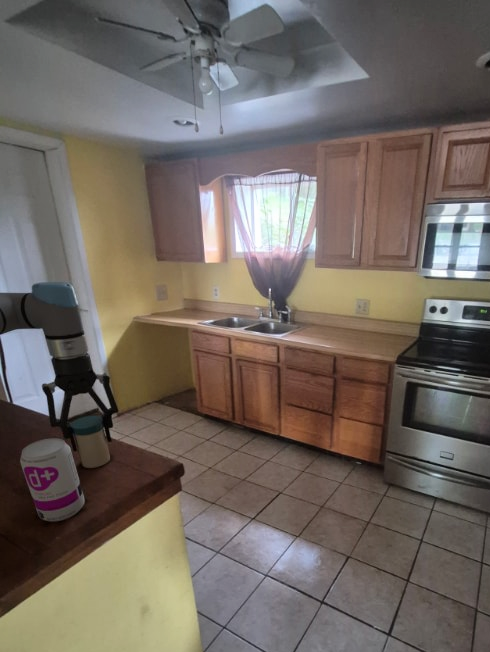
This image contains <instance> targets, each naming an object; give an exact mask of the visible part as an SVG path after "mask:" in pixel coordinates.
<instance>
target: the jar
mask: <svg viewBox="0 0 490 652" xmlns="http://www.w3.org/2000/svg"><path fill="white" fill-rule="evenodd" d="M73 437H74V440H75V444H76V448H77V451H78V454H79V458H80V462H81V465H82V467H84V468H86V469H94V468H98V467H102V466H104V465H106V464H107V463H108V462H109V461H110V460H111V454H110V449H109V445H108V440H107V438H106V434H105V429H104V428H103V429H101V430H100V431H98V432H95V433H92V434H88V435H75V434H73Z"/></svg>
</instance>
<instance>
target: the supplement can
mask: <svg viewBox="0 0 490 652" xmlns="http://www.w3.org/2000/svg"><path fill="white" fill-rule="evenodd" d="M72 452H73V451H72V448H71V447H70V446H69V444H67V443H66V441H65V439H62V438H58V437H57V438H56V437H55V438H54V437H52V438H45V439H40V440H37V441H34V442H32V443H30V444H28V445H27V446H25V447H24V448H23V449H22V450H21V455H20V459H19V463H20V466H21V469H22V472H23V474H24V478H25V480H26V483H27V487H28V489H29V492H30V495H31V498H32V500H33V504H34V507H35V509H36V512H37V515H38V517H39V518H40V520H43V521H47V522H60V521H64V520H67V519H69V518H71V517H73V516H75V515H76V514H77V513H78V512H79V511H80V510H81V509H82V508H83V507H84V505H85V502H86V501H85V495H84V493H83V489H82V485H81V481H80V477H79V475H78V471H77V470H78V469H77V466H76V463H75V460H74V457H73V453H72Z"/></svg>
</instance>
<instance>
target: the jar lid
mask: <svg viewBox="0 0 490 652" xmlns="http://www.w3.org/2000/svg"><path fill="white" fill-rule="evenodd" d="M70 426H71V429H72V433H73V435H74V434H75V435H88V434H92V433H95V432H98V431H100V430H101V429H103V428H104V421H103V418H102V416H99V415H88V416H83V417H79V418H77V419H75V420H73V421H72V422H71V423H70Z"/></svg>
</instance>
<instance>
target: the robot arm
mask: <svg viewBox="0 0 490 652" xmlns="http://www.w3.org/2000/svg"><path fill="white" fill-rule="evenodd" d="M40 329H42V333H43V334H44V339H45V343H46V347H47V350H48V353H49V356H50V357H51V359H50V361H51V365H52V368H53V373H54V376H55V377H54V381H51V382H49V383H47V382H46V383H42V384H41V389H42V392H43V393H44V395H45V397H46V403H47V410H48V418H49V422H50V427H51V428H56V427H58V428H60V429H61V433H62V436H63V439H64V440H68V439H69V441H70V443H71V447H72V450H73V451H72V452H77V451H78V447H77V444H76V440H75V436H74V434H73V433H72V429H71V426H70V424H71V423H70V422H68V421H69V415H70V409H71V404H72V400H73V397H74V396H78V395H86V394H88V395H89V396H90V397H91V399H92V400H93V401H94V402H95V404H96V406H97V407H98V408H99V409H100V410H101V412H102V413H103V414H101V416H100V417H102V418H103V421H104V432H105V436H106V441H107V443H112V442H113V440H112V437H111V432H110V429H113V428H114V422H113V418H112V417H113V415H114V414H118V413H119V409H118V405H117V403H116V400H115V396H114V394H113V391H112V388H111V385H110V383H111V382H110V381H111V378H110V377H111V376H109V374H108V373H106V372H104V373H101V374H99V373H98V374H97V373H96V372H95V371H94V369H93V368H94V367H93V364H92V360H91V354H89V353H88V352H89V346H88V342H87V337H86V334H85V330H84V325H83V320H82V315H81V311H80V302H79V301H78V298H77V295H76V291H75V288H74V286H73V285H72V284H71V283H69V282H67V281H45V282H36V283H33V284H32V286H31V292H0V336H1V335H4V334H7V333H11V332H12V331H16V330H17V331H18V330H40ZM97 380H98V382H99V384H102V387H103V389H104V392H105V395H106V398H107V401H108V403H109V406H110V407H109V408H108V407H107V406H106V404H105V403H104V401H103V400H102V399H101V398H100V396H99V395H98V393H97V392H96V391H95V390H94V388H93V387H94V386H95V384H96V382H97ZM56 388H59V389H60V390H62V391H63V392H64V393H63V400H62V405H61V411H60V412H61V413H60V416H59V419H57V415H56V414H57V413H56V406H55V398H54V393H55V392H56Z"/></svg>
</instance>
